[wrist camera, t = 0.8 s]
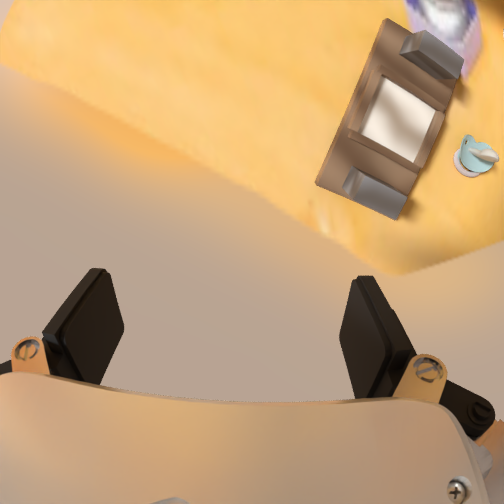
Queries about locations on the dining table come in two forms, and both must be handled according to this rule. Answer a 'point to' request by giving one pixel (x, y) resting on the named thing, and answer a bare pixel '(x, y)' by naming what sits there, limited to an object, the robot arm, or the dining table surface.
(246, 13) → the dining table surface
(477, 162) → the pacifier
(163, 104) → the dining table surface
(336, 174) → the brown tray
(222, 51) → the dining table surface
